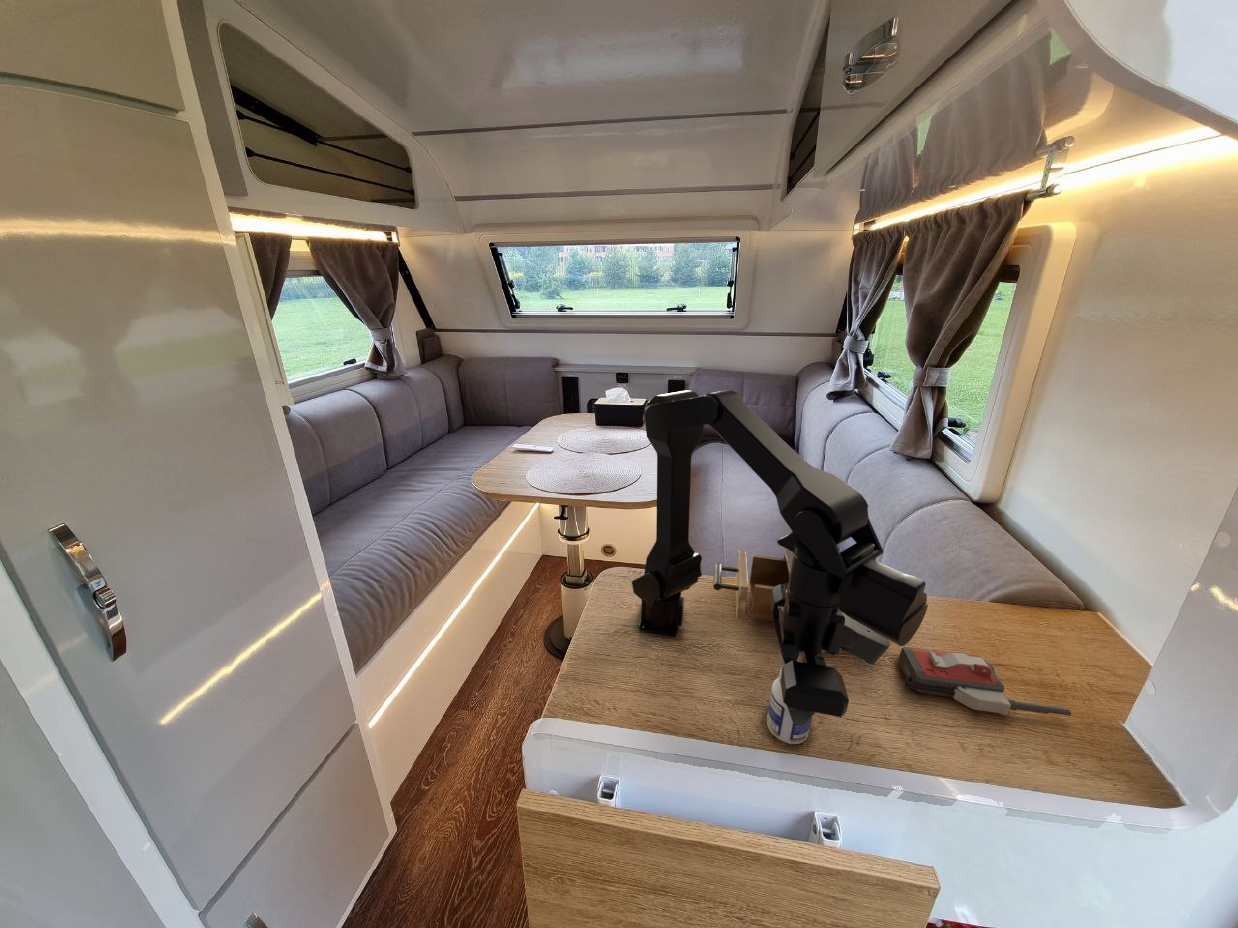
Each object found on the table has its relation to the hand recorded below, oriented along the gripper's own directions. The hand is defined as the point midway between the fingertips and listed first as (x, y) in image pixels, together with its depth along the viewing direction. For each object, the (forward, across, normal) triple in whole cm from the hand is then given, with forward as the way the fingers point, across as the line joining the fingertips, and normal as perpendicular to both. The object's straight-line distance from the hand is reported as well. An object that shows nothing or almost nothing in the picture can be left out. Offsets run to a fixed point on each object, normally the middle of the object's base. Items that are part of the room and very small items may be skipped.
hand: (793, 692), depth 60 cm
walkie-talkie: (+6, +12, -27) cm, 30 cm away
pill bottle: (+6, 0, 0) cm, 6 cm away
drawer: (+5, +24, +2) cm, 25 cm away
